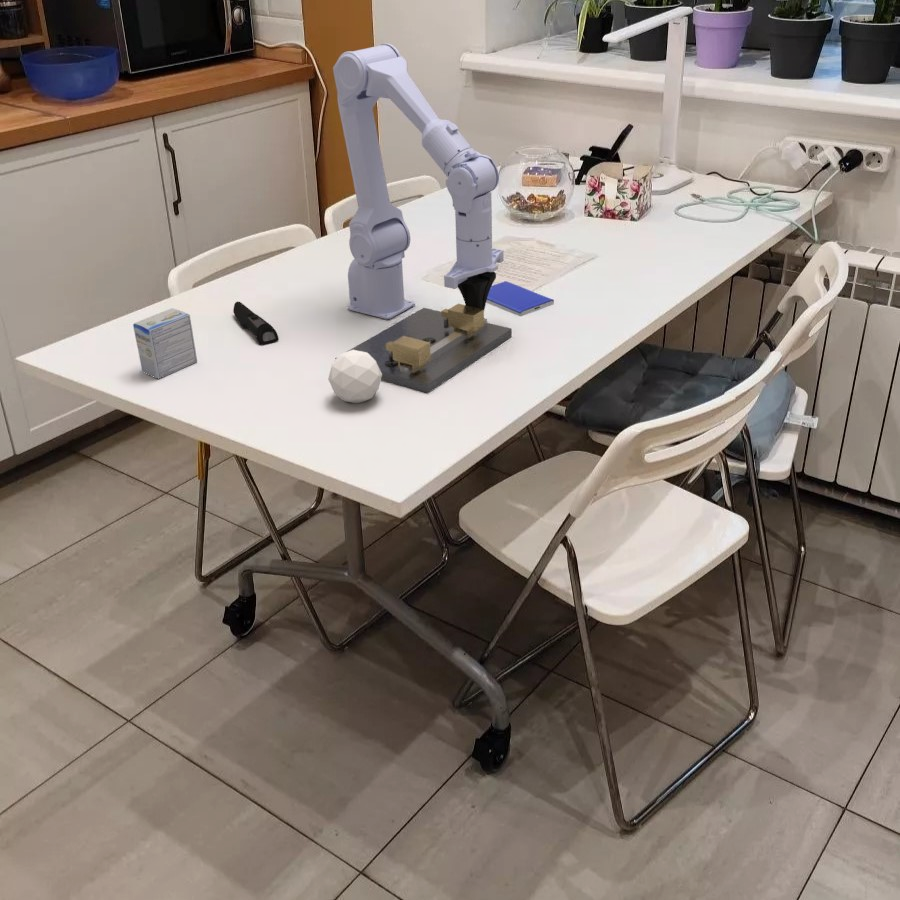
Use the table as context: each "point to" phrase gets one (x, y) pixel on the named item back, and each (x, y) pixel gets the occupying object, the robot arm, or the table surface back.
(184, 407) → the table surface
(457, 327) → the block
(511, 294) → the hard drive
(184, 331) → the medicine box
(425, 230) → the table surface
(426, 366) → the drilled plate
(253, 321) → the electric trimmer
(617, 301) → the table surface
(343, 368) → the ball
